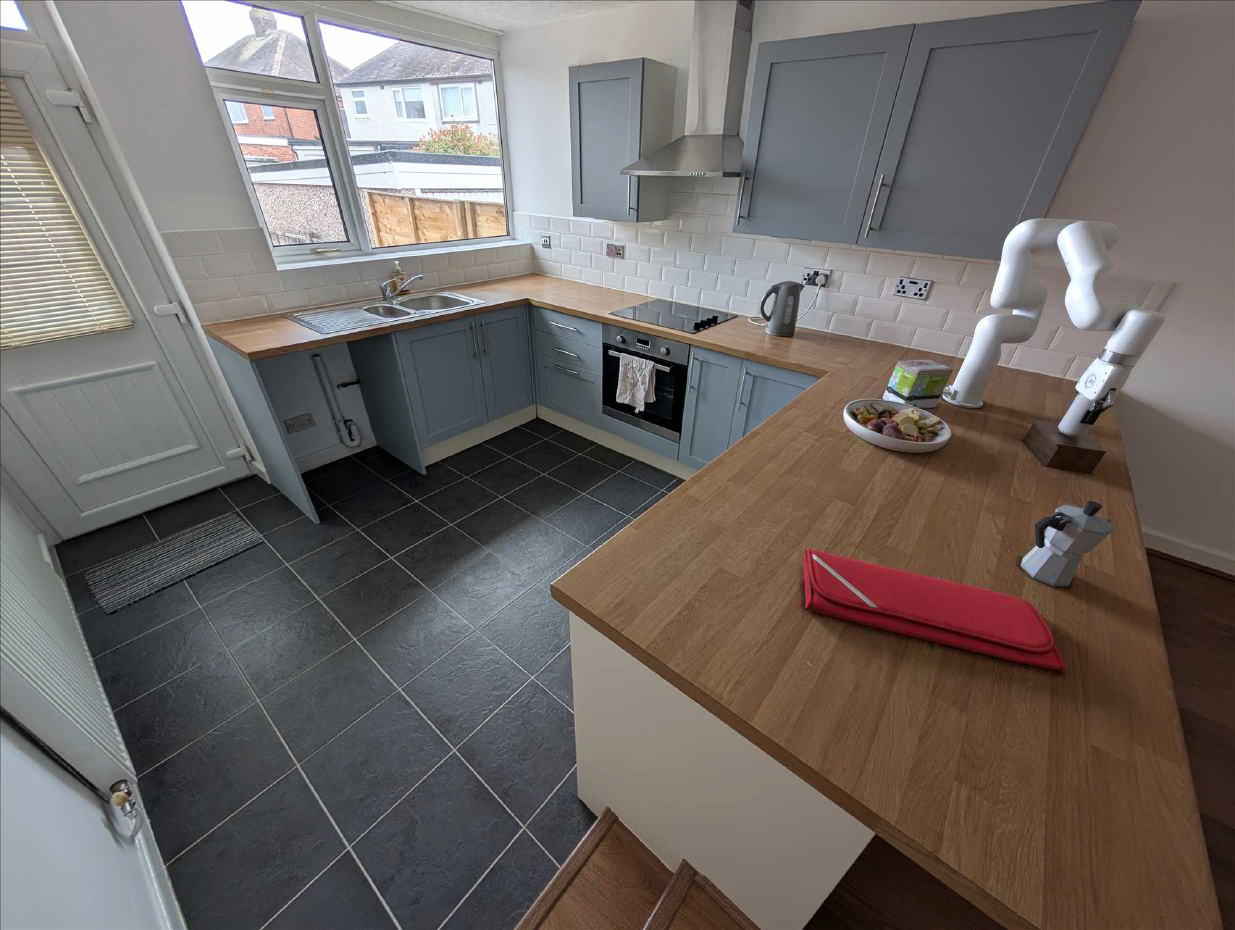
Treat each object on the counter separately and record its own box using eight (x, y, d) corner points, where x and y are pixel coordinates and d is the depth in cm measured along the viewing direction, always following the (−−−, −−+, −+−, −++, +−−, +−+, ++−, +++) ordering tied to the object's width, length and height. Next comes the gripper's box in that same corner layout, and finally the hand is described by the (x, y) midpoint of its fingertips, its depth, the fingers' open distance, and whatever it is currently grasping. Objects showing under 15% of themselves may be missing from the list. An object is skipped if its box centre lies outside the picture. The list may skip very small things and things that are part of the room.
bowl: (847, 404, 167) (855, 383, 163) (944, 428, 155) (955, 406, 150) (832, 438, 145) (840, 415, 141) (944, 469, 133) (956, 445, 128)
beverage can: (1056, 425, 142) (1079, 388, 135) (1084, 432, 139) (1108, 394, 132) (1056, 432, 138) (1079, 394, 131) (1084, 440, 134) (1110, 401, 128)
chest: (1046, 466, 137) (1058, 446, 134) (1022, 440, 150) (1033, 421, 147) (1091, 473, 135) (1105, 454, 131) (1063, 446, 148) (1075, 428, 144)
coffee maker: (1056, 557, 103) (1106, 490, 94) (1091, 588, 96) (1149, 519, 86) (991, 556, 103) (1034, 489, 93) (1021, 587, 95) (1072, 517, 86)
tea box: (902, 411, 164) (918, 370, 156) (881, 398, 172) (896, 359, 165) (936, 407, 168) (954, 368, 160) (914, 396, 176) (930, 358, 168)
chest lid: (1055, 446, 134) (1056, 443, 133) (1030, 421, 147) (1031, 419, 146) (1105, 453, 131) (1106, 451, 131) (1075, 427, 144) (1076, 425, 144)
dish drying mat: (1062, 677, 78) (1075, 663, 76) (805, 613, 87) (810, 599, 85) (1022, 605, 91) (1033, 592, 89) (801, 556, 100) (806, 543, 98)
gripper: (1084, 346, 134) (1050, 403, 144) (1120, 367, 120) (1079, 429, 129) (1116, 350, 132) (1078, 408, 142) (1156, 371, 118) (1111, 434, 128)
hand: (1079, 417), depth 136 cm, fingers closed on beverage can, 6 cm apart
